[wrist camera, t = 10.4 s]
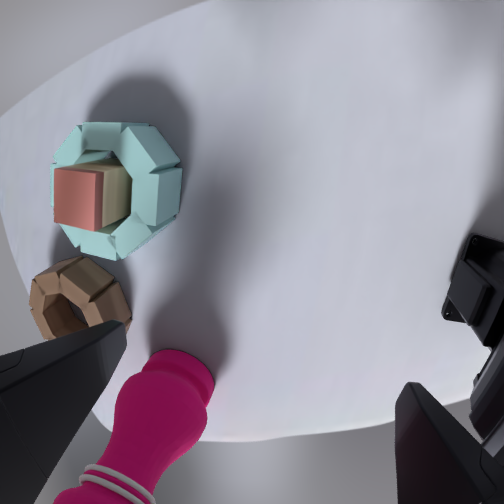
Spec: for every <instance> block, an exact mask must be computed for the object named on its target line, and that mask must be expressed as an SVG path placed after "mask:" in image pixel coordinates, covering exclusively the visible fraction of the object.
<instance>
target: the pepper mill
mask: <svg viewBox="0 0 504 504" xmlns="http://www.w3.org/2000/svg"><path fill="white" fill-rule="evenodd" d="M213 391H214V381H213V378H212V375H211V373H210V371H209V370H208V369H207V368H206V367H205V366H204V364H203V363H202V362H200V361H199V360H198V359H196V358H195V357H193V356H191V355H189V354H187V353H185V352H181V351H178V350H168V349H167V350H161V351H158V352H156V353H154V354H153V355H152V356H151V357H150V359H149V360H148V361H147V363H146V364H145V366H144V367H143V369H142V371H141V372H139V373H137V374H134V375H133V376H131V377H129V378H128V380H127V381H126V382H125V383H124V385H123V386H122V388H121V390H120V392H119V394H118V397H117V400H116V404H115V412H114V425H113V431H112V435H111V438H110V442H109V444H108V446H107V448H106V450H105V452H104V454H103V455H102V457H101V458H100V460H99V461H98V462H97V463H96V464H92V465H88V466H86V468H85V472H84V474H83V475H81V476H80V477H79V482H80V485H81V486H79V487H76V488H70V489H67V490H64V491H62V492H61V493H60V494H59V495H58V496H57V497H56V499H55V500H54V503H53V504H155V499H154V498H153V496H152V494H153V491H154V488H155V485H156V484H157V482H158V480H159V479H160V477H161V475H162V473H163V472H164V471H165V470H166V469H167V468H168V467H169V465H171V464H172V463H173V462H174V461H176V460H177V459H178V458H179V457H180V456H182V455H183V454H184V453H186V452H187V451H188V450H189V449H190V448H192V446H193V445H194V444H195V443H196V442H197V441H198V440H199V438H200V437H201V435H202V433H203V431H204V429H205V427H206V424H207V412H206V407H207V405H208V403H209V401H210V398H211V396H212V394H213Z"/></svg>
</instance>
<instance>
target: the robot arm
mask: <svg viewBox="0 0 504 504" xmlns="http://www.w3.org/2000/svg"><path fill="white" fill-rule="evenodd" d="M475 238H476V241H475V243H472V241H473V239H475ZM447 295H448V296H447V299H446V302H445V304H444V307H443V309H442V312H441V313H442V316H443V318H444V319H445V320H449V321H456V322H462V323H467V325H468V326H471V328H472V329H473V331H474V332H475V334H476V335H477V337H478V338H479V340H480V341H481V343H482V344H483V346H486V347H488V348H489V350H490V351H491V354H490V355H489V357H488V359H487V361H486V363H485V365H484V366H483V368H482V370H481V371H480V373H478V374H477V376H476V377H475V379H474V381H473V383H474V388H473V391H472V394H471V397H470V400H471V410H472V411H471V413H470V415H469V418H470V420H471V423H472V425H473V427H474V429H475V431H476V432H477V433H478V435H479V436H480V438H481V439H482V440H483V442H482V443H481V444H480V443H479V442H478V441H477V440H476V439H475V438H473V436H472V435H471V434H470V433H469V432H468V431H467V430H466V429H465V428H464V427H463V426H462V425H461V424H460V423H459V422H458V421H457V420H456V419H455V418H454V417H453V416H452V415H451V414H450V413H449V412H448V411H447V410H446V409H445V408H444V407H443V406H442V405H441V404H440V403H439V402H438V401H437V400H436V399H435V398H434V397H433V396H432V395H431V394H430V393H429V392H428V391H427V390H426V389H425V388H424V387H423V386H422V385H421V384H420V383H417V382H408V383H406V385H405V386H404V388H403V390H402V392H401V393H400V395H399V397H398V399H397V401H396V405H395V458H396V473H397V494H398V504H504V242H503V241H500V240H497V239H494V238H490V237H487V236H483V235H480V234H477V233H472V234H470V235H469V236H468V238H467V242H466V245H465V248H464V251H463V254H462V257H461V260H460V261H459V262H458V265H457V268H456V271H455V274H454V277H453V279H452V282H451V285H450V287H449V290H448V293H447ZM448 311H450V313H449V314H446V313H447V312H448ZM126 346H127V339H126V327H125V324H124V323H123V322H121V321H118V320H115V319H112V320H109V321H106V322H103V323H100V324H97V325H94V326H91V327H88V328H85V329H82V330H79V331H76V332H73V333H70V334H67V335H64V336H61V337H58V338H55V339H52V340H49V341H46V342H43V343H40V344H37V345H33V346H30V347H28V348H25V349H21V350H18V351H15V352H12V353H8V354H5V355H1V356H0V504H34V502H35V500H36V499H37V497H38V495H39V494H40V492H41V490H42V489H43V487H44V485H45V483H46V482H47V480H48V479H47V478H49V476H50V475H51V473H52V471H53V470H54V468H55V466H56V465H57V463H58V461H59V460H60V458H61V457H62V455H63V453H64V452H65V450H66V449H67V447H68V445H69V444H70V442H71V441H72V439H73V437H74V436H75V434H76V433H77V431H78V429H79V428H80V426H81V425H82V423H83V422H84V420H85V418H86V417H87V415H88V414H89V412H90V411H91V409H92V408H93V406H94V405H95V403H96V402H97V400H98V398H99V397H100V395H101V394H102V392H103V391H104V389H105V388H106V386H107V384H108V383H109V381H110V379H111V377H112V375H113V373H114V371H115V369H116V367H117V365H118V363H119V361H120V359H121V357H122V355H123V353H124V351H125V349H126Z"/></svg>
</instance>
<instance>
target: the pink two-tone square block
mask: <svg viewBox="0 0 504 504" xmlns="http://www.w3.org/2000/svg"><path fill="white" fill-rule="evenodd" d="M132 182H133V179H132V177H131V176H130V174H129V173H128V172H127V170H126V169H125V167H124V166H123V165H122V163H121V162H120V160H119V159H115V158H107V159H101V160H96V161H90V162H85V163H80V164H74V165H69V166H65V167H60V168H55V169H54V222H56V223H60V224H64V225H68V226H72V227H76V228H80V229H85V230H89V231H93V232H95V231H97V230H99V229H101V228H103V227H105V226H107V225H109V224H111V223H113V222H115V221H117V220H119V219H121V218H123V217H125V216H128V215H130V214H131V202H132Z"/></svg>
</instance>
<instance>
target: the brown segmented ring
mask: <svg viewBox="0 0 504 504" xmlns="http://www.w3.org/2000/svg"><path fill="white" fill-rule="evenodd" d="M113 280H114V276H112V275H111V274H110V273H108V272H107V271H106V270H104V269H103V268H101V267H100V266H99V265H97V264H96V263H95V262H93V261H92V260H91V259H89V258H88V257H86V258H84V259H83V256H79V257H75V258H71V259H67V260H63V261H60V262H58V263H56V264H55V265H53V266H51V267H50V268H48V269H46V270H45V271H43V272H41V273H40V274H38V275H36V276H35V278H34V279H33V280H32V285H31V292H30V300H29V305H30V306H31V307H32V309H31V310H30V311H31V313H32V315H33V317H34V320H35V322H36V324H37V326H38V328H39V330H40V332H41V334H42V336H43V338H44V339H48V341H49V340H52V339H55V338H58V337H61V336H64V335H67V334H70V333H73V332H76V331H79V330H82V329H85V328H88V326H87V325H85V324H84V323H83V322H82V321H80V320H79V319H78V318H76V317H75V315H74V313H73V311H72V309H71V307H70V304H69V302H68V300H67V298H68V299H69V300H70V301H72V302H73V303H74V304H75V305H77V306H78V307H79V308H80V309H81V310H82V312H83V314H84V316H85V319H86V321H87V323H88V325H89V327H91V326H94V325H97V324H100V323H103V322H106V321H109V320H112V319H115V320H118V321H121V322H123V323H124V324H125V327H126V334H127V331H128V329H129V327H130V324H131V322H132V320H131V319H130V317H131V316H132V314H131V312H130V309H129V307H128V305H127V302H126V300H125V297H124V295H123V292H122V290H121V287H120V285H119V282H117V283H113Z"/></svg>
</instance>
